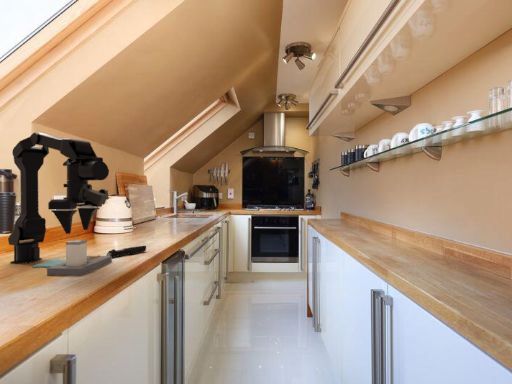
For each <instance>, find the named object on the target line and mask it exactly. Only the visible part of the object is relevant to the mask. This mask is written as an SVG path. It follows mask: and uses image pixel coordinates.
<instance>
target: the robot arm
mask: <svg viewBox="0 0 512 384" xmlns="http://www.w3.org/2000/svg"><path fill="white" fill-rule="evenodd" d="M49 149H53V150H55V151H59V153H60V155H62V156H64V157H66V158H67V159H66V161H64V162H63V163H62V166H63V167H66V183H63V188H66V197H63V198H61V199H60V198H57V199H51V200H50V201H48V203H47V204H48V205H47V209H48V210H51V213H53V214H54V216H55V217H56V219H57V221H58V222H59V224H60V225H61V228H62V229H63V231H64V232H65V234H66V235H69V234H71V231H72V227H73V226H72V224H73V216H74V215H75V214H76V213H77V212H78V214H79V219H80V222H81V226H82V228H83V231H87V230H89V227H90V224H91V221H92V218H93V216H94V213H96V212H97V211H98V210H100V208H101V207H103V206H104V205H105V204H106V202H107V200H109V199H110V198H109V191H108V189H104V188H100V190H95V189H93V186H92V184H91V183H89V181H104V180H106V179H107V178H108V176H109V172H110V169H109V166H108V165H107V163H105V162H104V158H103V157H99V156H97V153H96V152H95V150H94V149H93V146H92V143H91V142H90V141H87V140H82V139H81V140H80V139H75V138H63V137H62V138H61V137H58V136H54V135H51V134H49V133H45V132H38V131H37V132H36V131H35V132H33V133H31V135H30V136H29V137H26V138H24V139H22V140H19V141H18V142H17V144H16V145H15V146H14V147H13V148H12V157H13V162H14V164H15V166H16V167H17V168H18V170H19V173H20V179H19V180H20V213H19V214H20V215H19V216H18V218H17V219H16V220H15V222H14V228H13V230H12V232H10V235H9V236H8V238H7V241H8V245H10V246H13V255H14V256H13V260H11V261H10V264H31V263H34V262H38V261H40V260H42V259H43V258H42V257H41V256H40V255H41V252H40V251H41V250H40V249H41V248H40V247H39V244H40V243H44V241H45V236H46V231H47V227H46V226H47V225H46V223H47V220H46V219H45V217H42V215H41V214H40V212H39V210H40V209H39V207H40V206H39V170H40V169H41V167H42V166H43V165H44V161H45V158H46V157H48V155H49V153H50V150H49ZM77 207H78V208H77Z"/></svg>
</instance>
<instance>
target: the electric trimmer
mask: <svg viewBox="0 0 512 384" xmlns="http://www.w3.org/2000/svg"><path fill="white" fill-rule="evenodd" d="M146 250H147V245H140V246H139V245H138V246H132V247H131V246H130V247H126V248H122V249H118V250H116V249H111V250H109V251H108V252H107V253H106V255H105V256H112V259H114V258H118V257H122V256H127V255H129V256H132V255H135V254H136V255H137V254H140V253H143V252H146Z"/></svg>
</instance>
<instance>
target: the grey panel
mask: <svg viewBox="0 0 512 384" xmlns="http://www.w3.org/2000/svg"><path fill="white" fill-rule="evenodd" d="M112 260H113V258H112V256H106V255H99V254H98V255H97V254H92V255H87V264H85V265H82V266H66V262H64V263H61V264H58V265H55V266H52V267H49V268H46V276H64V277H65V276H66V277H67V276H71V277H72V276H74V277H75V276H76V277H77V276H78V277H79V276H81V277H82V276H83V275H86V274H88V273H91V272H93V271H94V270H97V269H99V268H101V267H103V266H105V265H108V264H110V263H111V262H112Z"/></svg>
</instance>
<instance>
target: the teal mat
mask: <svg viewBox="0 0 512 384" xmlns="http://www.w3.org/2000/svg"><path fill="white" fill-rule="evenodd" d="M64 262H66V258H58V259H57V258H52V259H50V260H46V261H43V262H39V263H37V264H34V265H32V266H31V267H32V268H39V269H40V268H42V269H43V268H45V269H47V268H49V267H52V266H55V265H58V264H61V263H64Z"/></svg>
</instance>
